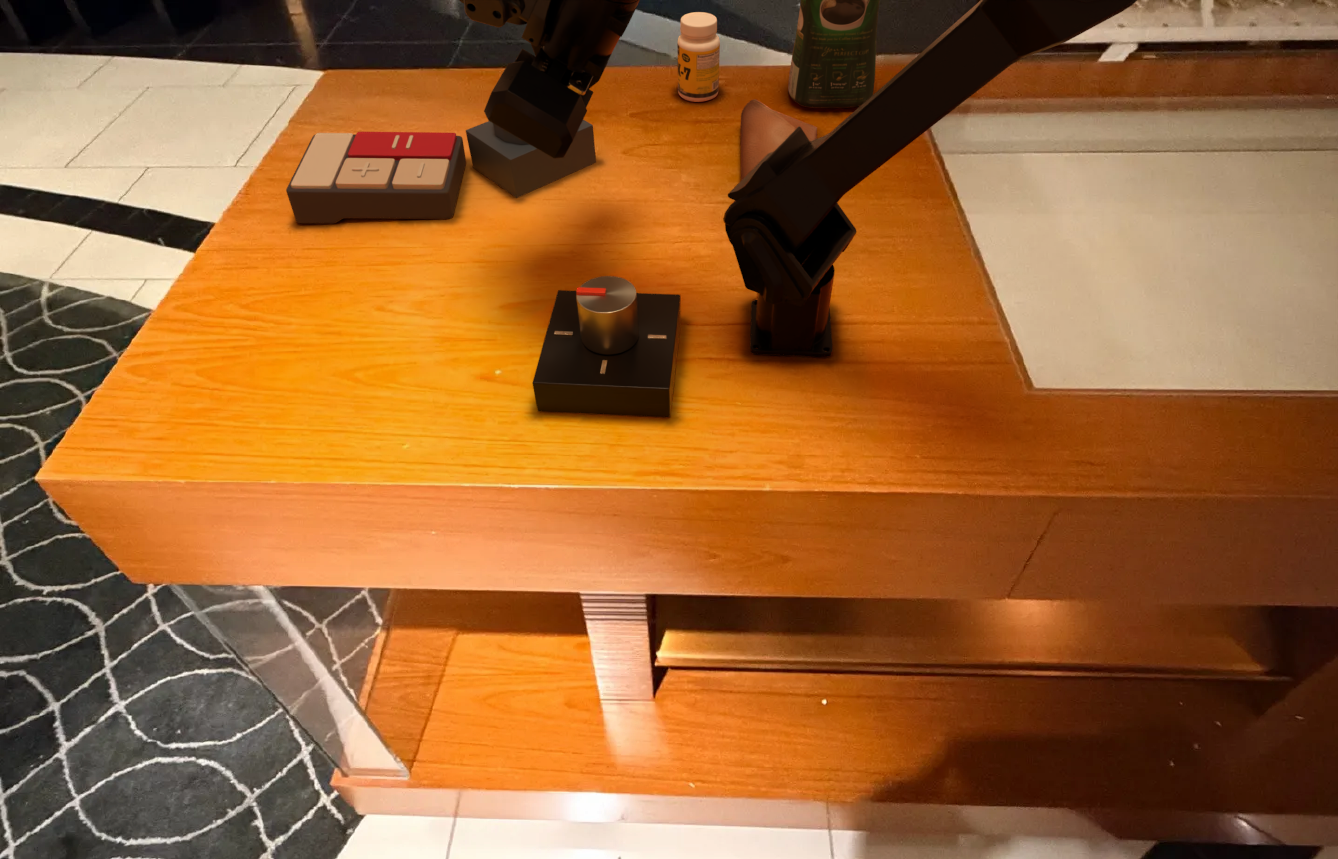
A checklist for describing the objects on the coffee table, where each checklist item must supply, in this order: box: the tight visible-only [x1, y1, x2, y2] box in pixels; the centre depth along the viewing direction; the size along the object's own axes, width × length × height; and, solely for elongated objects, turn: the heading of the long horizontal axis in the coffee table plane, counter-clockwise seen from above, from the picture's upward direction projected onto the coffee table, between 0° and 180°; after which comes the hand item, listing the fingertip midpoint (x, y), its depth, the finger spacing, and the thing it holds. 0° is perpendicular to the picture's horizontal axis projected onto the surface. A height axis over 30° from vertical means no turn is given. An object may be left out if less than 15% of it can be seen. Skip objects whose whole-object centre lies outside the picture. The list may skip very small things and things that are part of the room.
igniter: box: [465, 119, 597, 199], centre depth 87 cm, size 8×10×6 cm
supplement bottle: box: [676, 11, 721, 103], centre depth 96 cm, size 5×5×8 cm
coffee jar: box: [787, 0, 881, 109], centre depth 92 cm, size 10×8×19 cm
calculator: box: [285, 131, 467, 224], centre depth 85 cm, size 11×4×15 cm
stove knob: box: [575, 275, 639, 355], centre depth 64 cm, size 4×4×4 cm
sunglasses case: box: [740, 98, 818, 181], centre depth 86 cm, size 18×7×7 cm
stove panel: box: [532, 289, 682, 418], centre depth 67 cm, size 11×10×3 cm
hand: (532, 126), depth 70 cm, fingers closed
